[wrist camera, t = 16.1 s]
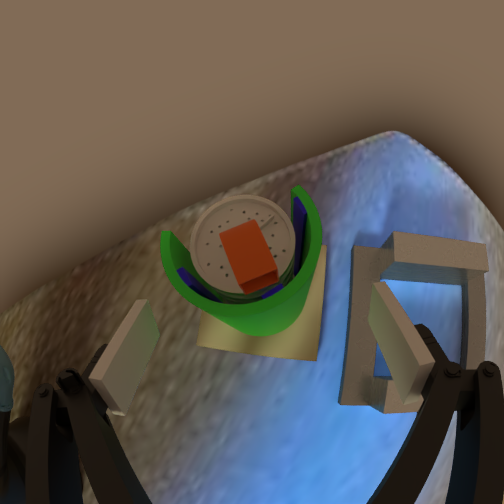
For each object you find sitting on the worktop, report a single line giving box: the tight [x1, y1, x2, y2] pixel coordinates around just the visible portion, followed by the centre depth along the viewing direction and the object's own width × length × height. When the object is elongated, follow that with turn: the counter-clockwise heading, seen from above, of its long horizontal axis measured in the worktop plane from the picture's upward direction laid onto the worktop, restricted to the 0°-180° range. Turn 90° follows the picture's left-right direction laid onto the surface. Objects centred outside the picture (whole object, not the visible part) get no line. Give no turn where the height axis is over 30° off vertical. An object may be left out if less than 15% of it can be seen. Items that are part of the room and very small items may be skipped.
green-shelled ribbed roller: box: [160, 185, 322, 336], centre depth 20 cm, size 9×8×18 cm
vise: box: [338, 231, 489, 416], centre depth 23 cm, size 18×21×6 cm
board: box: [196, 245, 327, 361], centre depth 29 cm, size 12×12×2 cm
